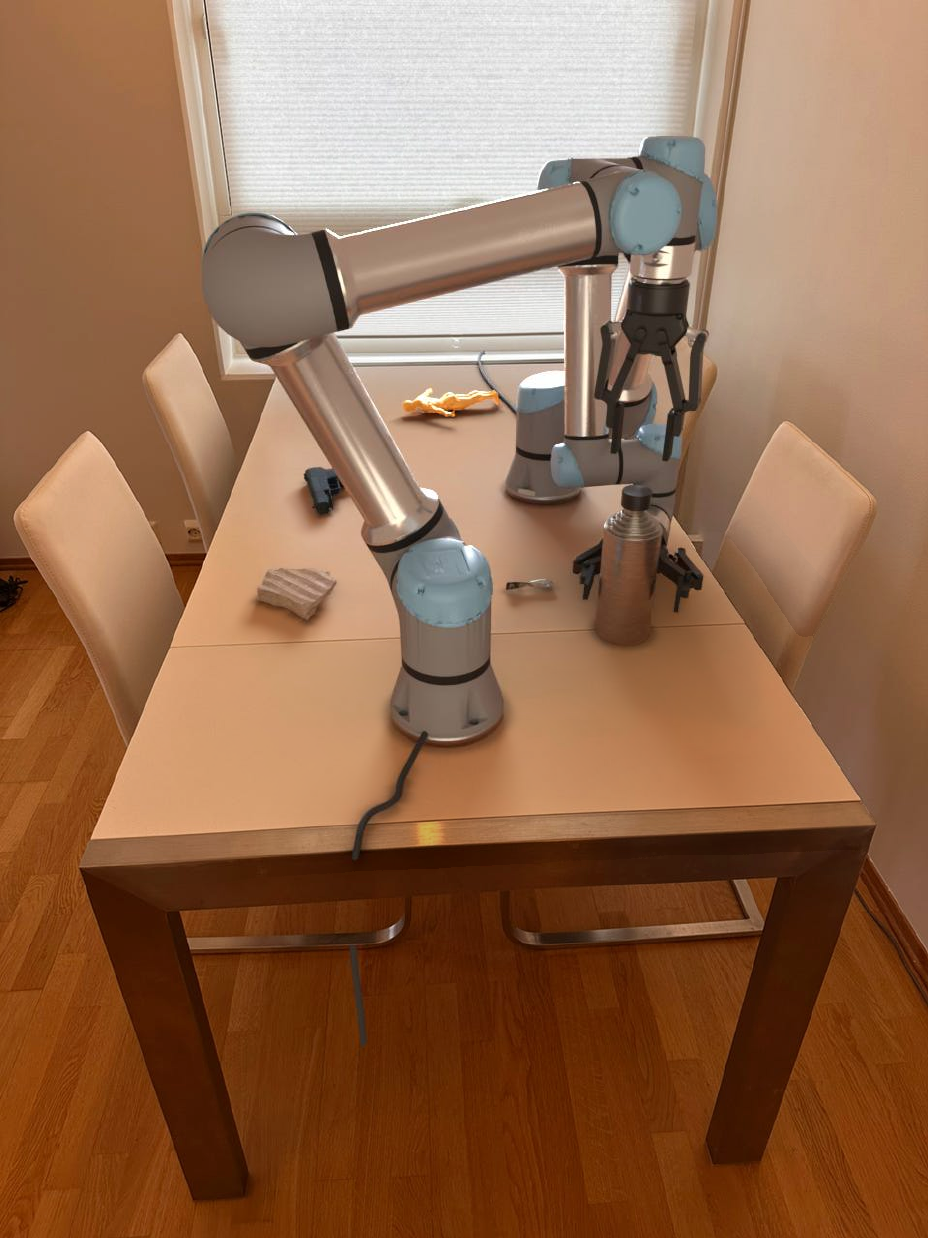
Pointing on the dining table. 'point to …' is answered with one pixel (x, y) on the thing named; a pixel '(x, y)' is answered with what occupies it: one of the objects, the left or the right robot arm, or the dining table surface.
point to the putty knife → (529, 584)
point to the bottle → (628, 577)
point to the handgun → (322, 487)
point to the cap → (636, 498)
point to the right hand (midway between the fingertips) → (630, 598)
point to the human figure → (448, 402)
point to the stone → (296, 589)
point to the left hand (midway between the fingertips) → (641, 453)
